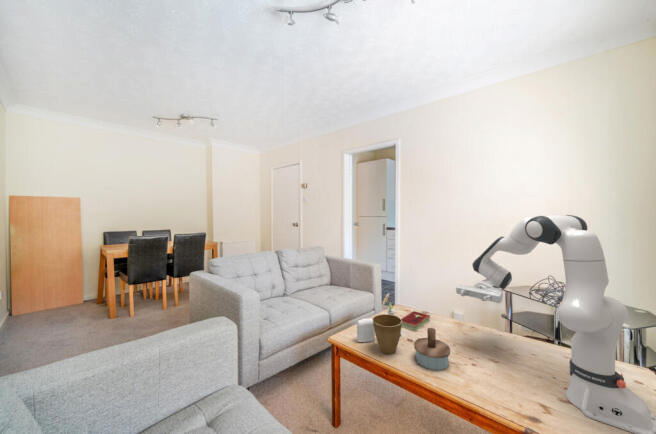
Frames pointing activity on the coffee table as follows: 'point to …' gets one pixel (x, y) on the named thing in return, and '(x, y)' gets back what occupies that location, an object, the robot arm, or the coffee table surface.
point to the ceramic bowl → (432, 362)
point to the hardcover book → (415, 320)
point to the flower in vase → (390, 311)
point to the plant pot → (387, 332)
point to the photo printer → (365, 330)
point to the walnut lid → (432, 346)
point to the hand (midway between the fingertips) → (472, 296)
